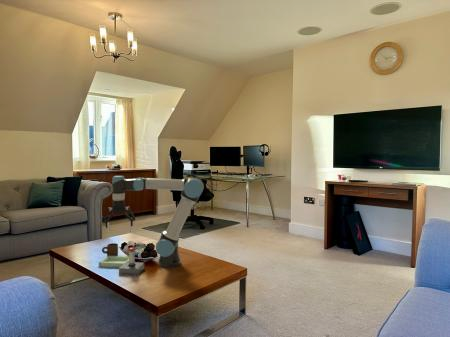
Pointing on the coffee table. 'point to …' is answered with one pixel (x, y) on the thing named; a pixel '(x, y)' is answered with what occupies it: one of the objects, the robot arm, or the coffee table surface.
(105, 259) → the tray
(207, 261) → the coffee table surface
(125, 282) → the coffee table surface
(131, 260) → the pin
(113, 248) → the mug
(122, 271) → the block
